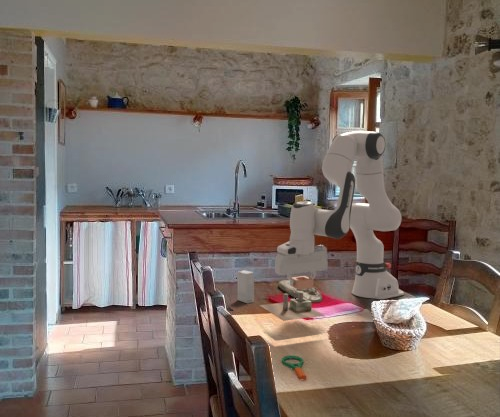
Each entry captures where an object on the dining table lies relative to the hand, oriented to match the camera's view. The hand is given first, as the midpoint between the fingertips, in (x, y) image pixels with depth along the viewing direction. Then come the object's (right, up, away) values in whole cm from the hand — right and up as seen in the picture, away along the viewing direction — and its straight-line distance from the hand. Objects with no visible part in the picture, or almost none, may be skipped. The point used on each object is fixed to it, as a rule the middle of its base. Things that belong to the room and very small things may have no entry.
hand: (301, 284), depth 192 cm
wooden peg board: (-3, -12, +7) cm, 14 cm away
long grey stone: (+2, -10, +34) cm, 36 cm away
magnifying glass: (-6, -18, -43) cm, 47 cm away
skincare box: (-21, -10, +23) cm, 33 cm away
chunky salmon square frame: (0, -1, 0) cm, 1 cm away
